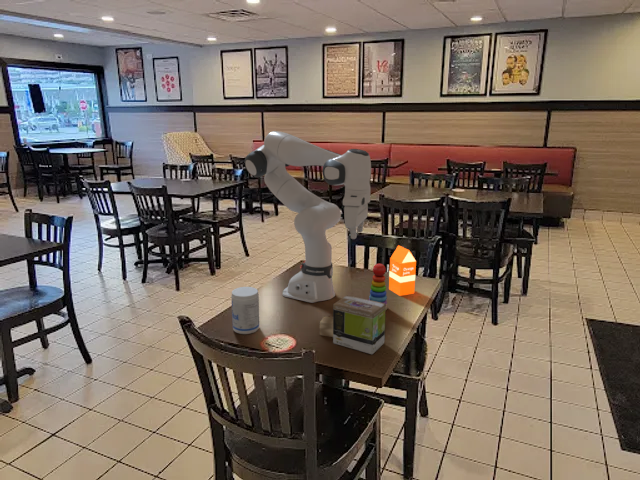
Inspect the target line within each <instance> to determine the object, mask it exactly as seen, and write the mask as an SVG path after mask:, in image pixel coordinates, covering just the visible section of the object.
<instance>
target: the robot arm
mask: <svg viewBox="0 0 640 480" xmlns="http://www.w3.org/2000/svg"><path fill="white" fill-rule="evenodd" d="M371 161H372V160H371V156H370V154H369V152H368V151H366V150H364V149H359V148H358V149H357V148H351V149H348V150H347V151H346V152H344V153H343V154H340V153H338V152H334V151H332V150H329V149H326V148H323V147H321V146H318V145H315V144H313V143H311V142H308V141H306V140H304V139H302V138H300V137H298V136H295V135H293V134H290V133H287V132H283V131H278V130H274V131H271V132H269V133H268V134H266V136H265V137H264V141H263V144H262V145H261V146H259V147H257V148H256V149H255V150H253V151H250V152H249V153H248V154H247V155H246V157H245V158H244V167H245V170H246V171H247V172H248V173H249V175H251V176H253V177H254V178H260V177H261V178H262V177H263V178H264V179H263V180H264V183H265V185H266V186H267V188H268V190H269V191H270V192H271V193H272V194H273V195H274V196H275V197H276V198H277V200H279V201H280V203H282V204H283V205H284V206H285V207H286V208H287V209H289V210H290V211H292V212H293V213H294V212H295V213H297V214H296V215H295V217H294V220H293V224H294V229H295V230H296V232H297V233H298V234H300V236H301V238H302V240H303V244H304V251H305V252H304V254H305V255H304V256H305V257H304V258H305V259H304V260H303V262H302V263H301V265H299V270H300V271H299V272H298V273H296V274H294V275H293V276H292V277H291V278H290V279H289V281H288V284H287V285H288V286H286V287H285V288H284V289H283V291H282V296H283V297H285V298H290V299H293V300H299V301H302V302H307V303H312V304H313V303H314V304H315V303H317V302H322V301H327V300H331V299H333V298H334V297H335V296H336V292H335V289H334V288H335V287H334V284H333V273H334V269H333V268H334V267H333V262H332V260H333V259H332V258H333V257H332V252H333V251H332V249H333V248H332V244H331V243H330V242H329V241H328V239H327V236H326V231H327V230H329V229H332V228H334V227H335V226H336V225H337V224H338V223H339V222H340V221H341V217H342V213H341V209H340V207H339V206H338V205H337V204H335V203H332V202H329V201H327V200H325V199H323V198H321V197H320V196H318V195H316V194H314V193H313V192H311V191H309V189H307V188H306V186H305V187H304V186H303V184H301V182H299V181H298V180H297V179H296V178H294V177H293V175H291V174H290V173H289V172H288V171H287V169H286V167H289V166H293V167H305V166H306V167H307V166H308V167H309V166H321V167H322V170H321V171H322V177H323V180H324V181H325V182H326V184H328V185H330V186H343V185H344V196H343V199H342V205H343V206H344V207H343V212H344V213H343V214H344V226H345V228H346V229H349V233H350V239H351V240H355V239H357V235H358V234H357V233H362V232H363V231H364V229H363V227H364V224H365V220H366V219H367V218H368V215H369V214H368V213H369V209H368V208H369V205H368V204H369V203H370V202H371V191H372V190H371V189H372V188H371V182H370V181H371V177H372V176H371V175H372V162H371Z"/></svg>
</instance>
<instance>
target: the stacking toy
mask: <svg viewBox="0 0 640 480" xmlns="http://www.w3.org/2000/svg"><path fill="white" fill-rule="evenodd" d="M386 272H387V269H386V266H385V265H384V264H383V263H375V264H374V266H373V268H372V273H373V275H372V279H371V280H372V281H371V285H370V291H369V296H368V300H372V301H376V302H381V303H385V304H386V305H385V311H387V309H388V302H387V299H388V296H387V286H386V276H385V274H386Z"/></svg>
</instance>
